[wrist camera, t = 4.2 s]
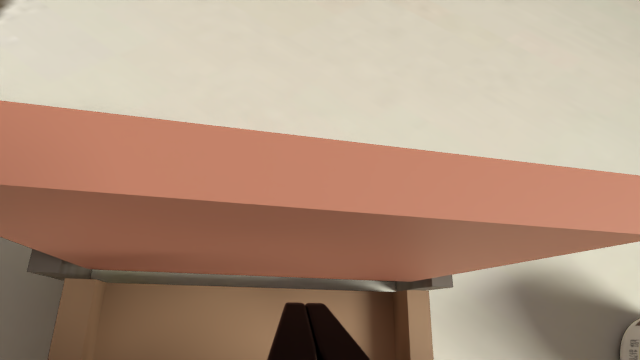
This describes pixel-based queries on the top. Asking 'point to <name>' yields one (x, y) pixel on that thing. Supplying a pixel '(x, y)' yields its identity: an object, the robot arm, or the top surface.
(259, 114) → the top surface
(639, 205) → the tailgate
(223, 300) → the wooden tray
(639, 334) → the supplement bottle
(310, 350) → the robot arm
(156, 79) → the top surface
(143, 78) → the top surface
